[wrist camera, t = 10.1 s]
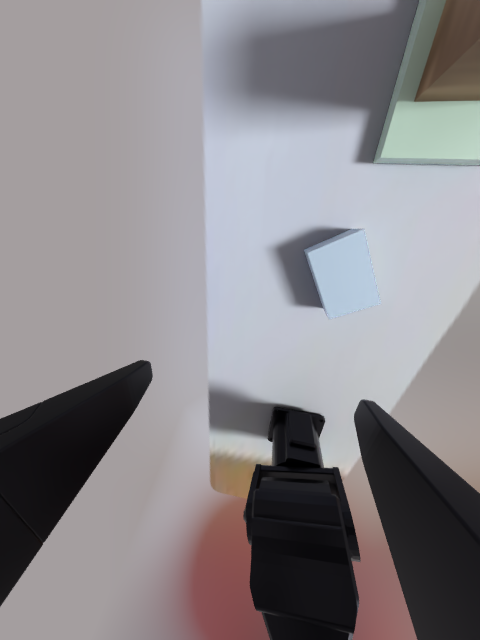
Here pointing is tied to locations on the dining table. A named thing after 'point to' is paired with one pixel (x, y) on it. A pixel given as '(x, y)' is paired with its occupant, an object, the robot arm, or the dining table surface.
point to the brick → (343, 273)
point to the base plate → (427, 109)
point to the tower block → (454, 56)
